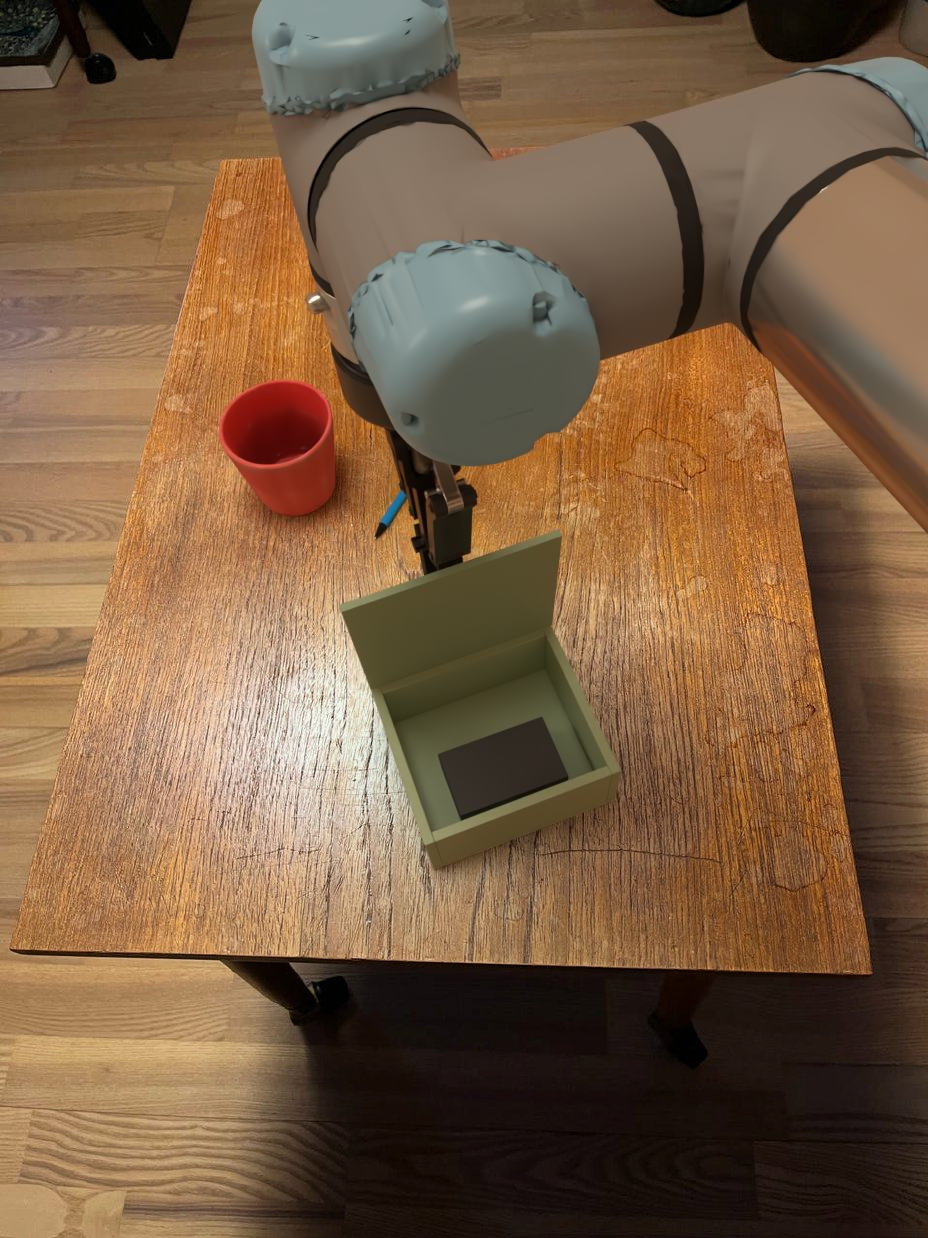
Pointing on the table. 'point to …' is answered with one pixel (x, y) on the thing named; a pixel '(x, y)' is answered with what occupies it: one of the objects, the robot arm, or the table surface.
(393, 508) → the pen
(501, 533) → the table surface
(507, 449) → the robot arm
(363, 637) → the cover
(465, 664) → the case
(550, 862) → the table surface
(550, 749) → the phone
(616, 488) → the table surface
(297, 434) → the flower pot
